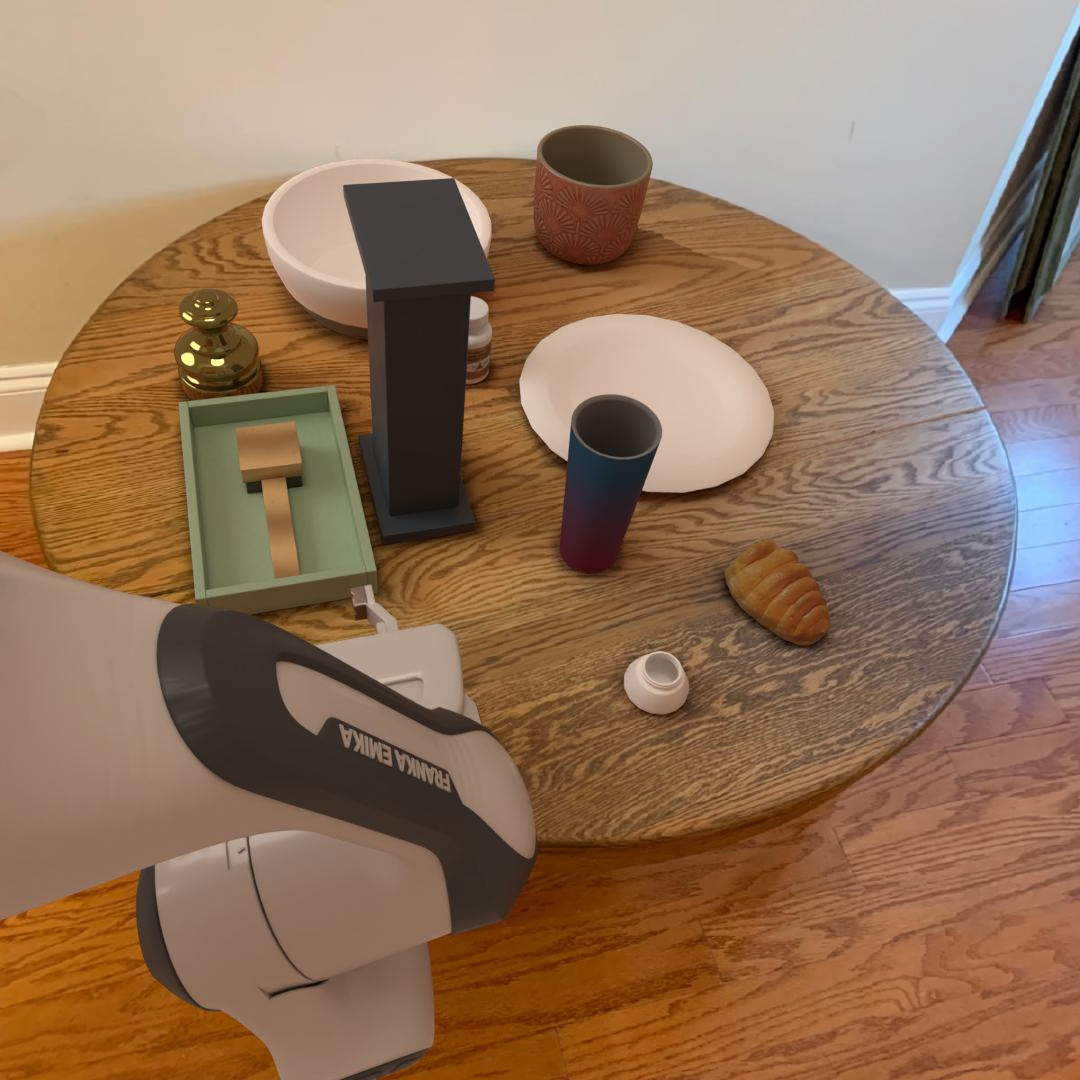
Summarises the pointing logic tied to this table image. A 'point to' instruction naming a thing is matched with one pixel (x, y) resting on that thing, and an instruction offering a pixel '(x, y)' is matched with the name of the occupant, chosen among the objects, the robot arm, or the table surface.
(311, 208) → the bowl
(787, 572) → the pastry
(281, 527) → the brush
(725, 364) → the plate
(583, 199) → the planter
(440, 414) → the stand
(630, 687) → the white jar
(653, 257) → the table surface
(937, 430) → the table surface
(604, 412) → the cup
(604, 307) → the table surface
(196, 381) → the brass bell weight
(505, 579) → the table surface
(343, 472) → the tray
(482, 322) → the pill bottle
